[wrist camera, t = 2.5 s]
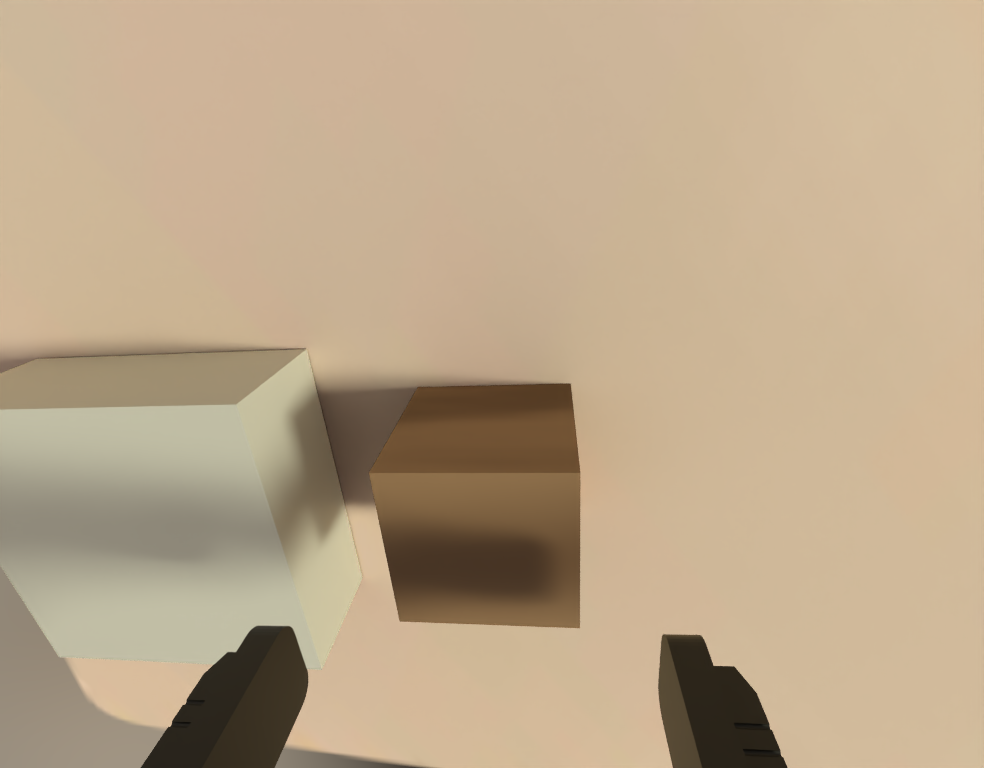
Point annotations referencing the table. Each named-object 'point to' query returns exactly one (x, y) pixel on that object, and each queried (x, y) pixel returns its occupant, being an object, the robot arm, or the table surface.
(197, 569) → the base slab
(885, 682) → the table surface
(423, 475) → the walnut cube
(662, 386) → the table surface
